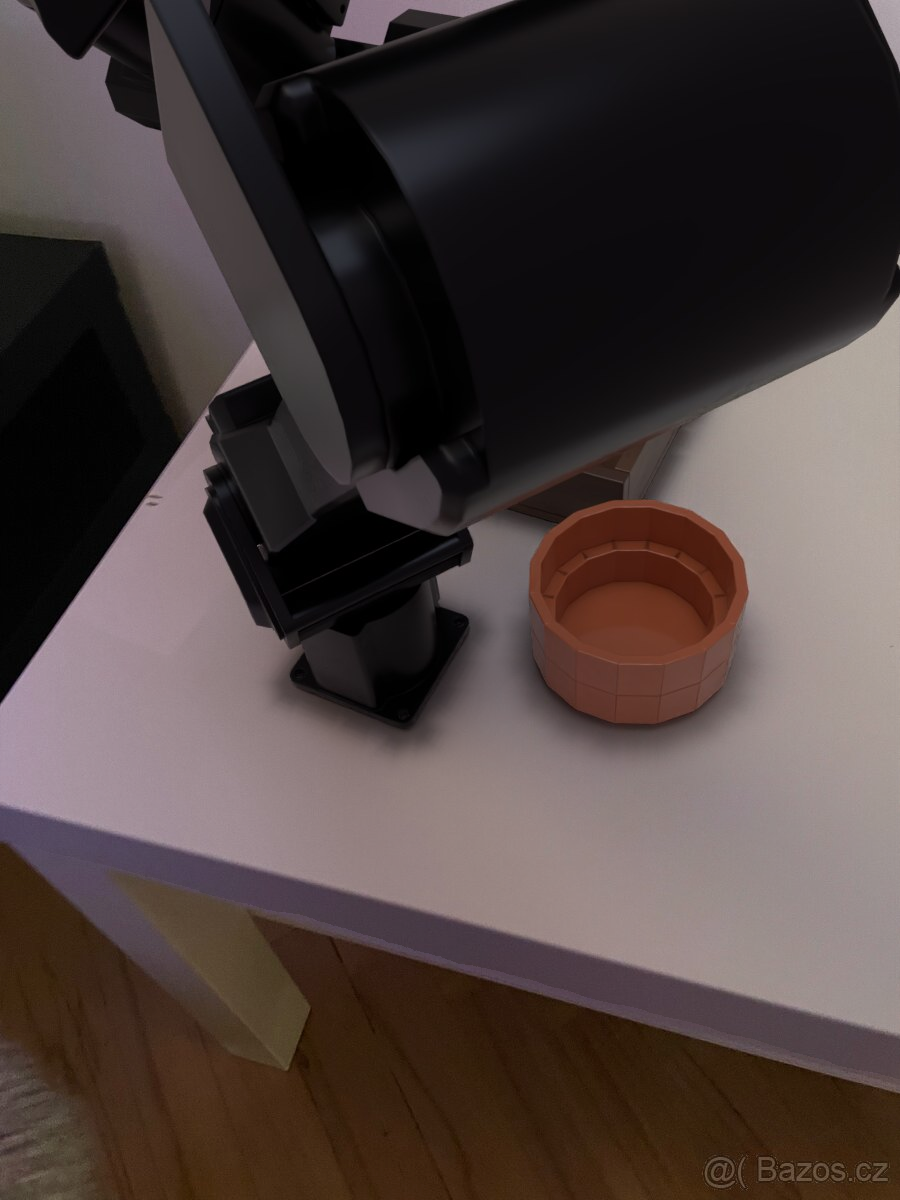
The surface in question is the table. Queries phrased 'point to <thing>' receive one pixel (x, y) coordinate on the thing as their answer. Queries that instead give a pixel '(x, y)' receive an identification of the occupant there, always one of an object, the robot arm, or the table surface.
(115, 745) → the table surface
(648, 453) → the tray
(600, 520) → the bowl
